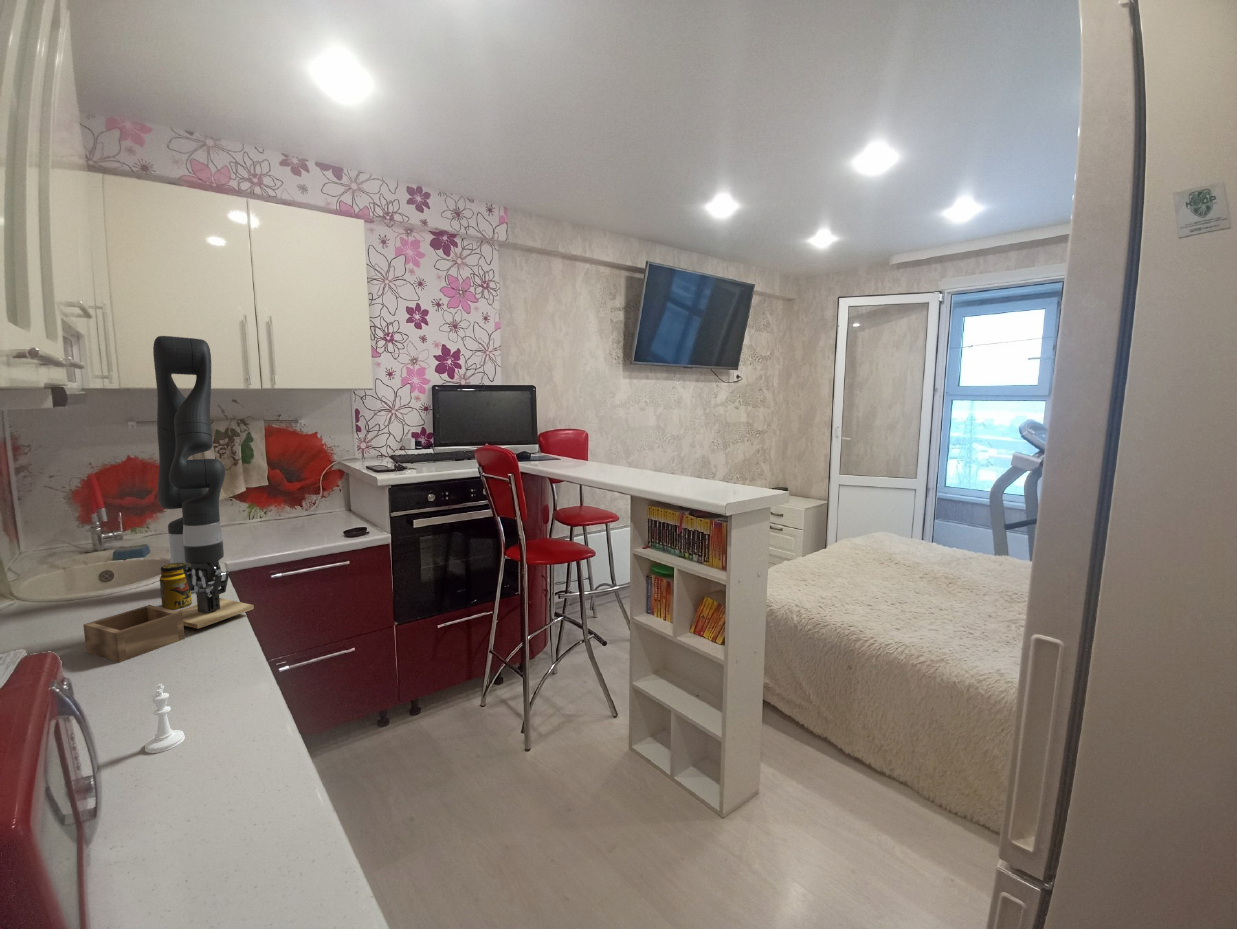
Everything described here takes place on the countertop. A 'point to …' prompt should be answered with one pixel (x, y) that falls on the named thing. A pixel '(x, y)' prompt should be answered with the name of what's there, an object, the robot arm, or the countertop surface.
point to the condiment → (174, 587)
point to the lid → (203, 617)
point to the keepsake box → (133, 633)
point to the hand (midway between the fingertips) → (208, 608)
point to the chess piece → (163, 726)
